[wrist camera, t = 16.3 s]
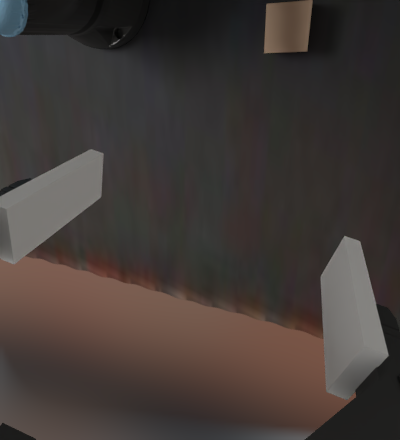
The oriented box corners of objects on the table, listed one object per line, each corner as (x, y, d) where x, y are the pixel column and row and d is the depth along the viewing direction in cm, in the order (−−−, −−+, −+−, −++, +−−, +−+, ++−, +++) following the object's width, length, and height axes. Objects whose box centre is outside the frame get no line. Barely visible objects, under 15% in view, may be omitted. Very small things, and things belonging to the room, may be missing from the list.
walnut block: (268, 51, 43) (264, 53, 39) (270, 7, 40) (266, 3, 36) (307, 50, 42) (307, 51, 37) (312, 3, 39) (312, -1, 35)
